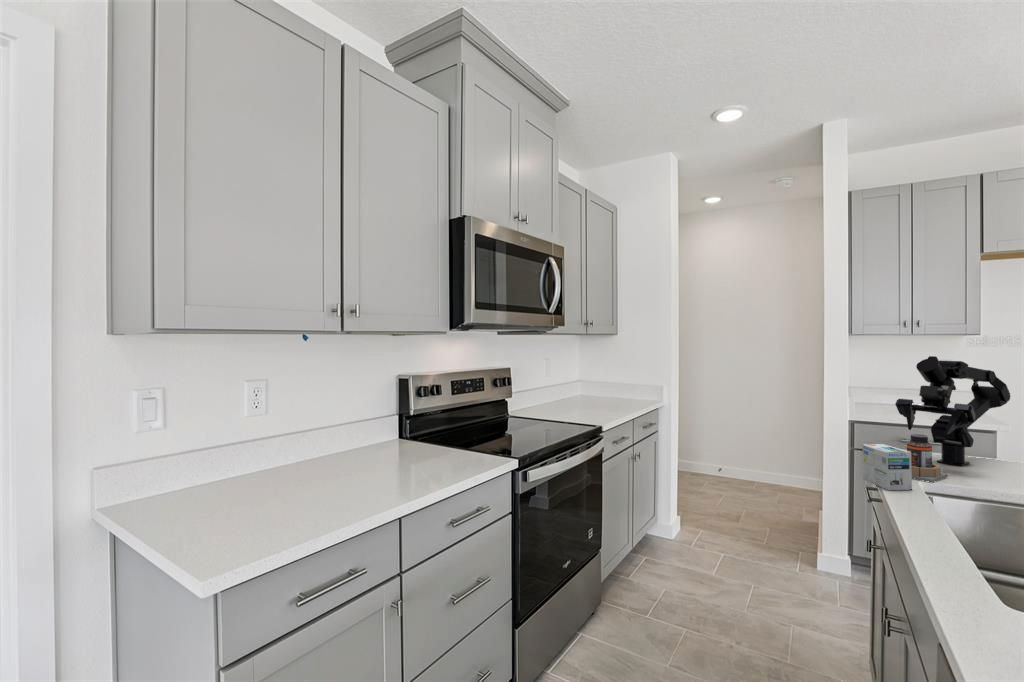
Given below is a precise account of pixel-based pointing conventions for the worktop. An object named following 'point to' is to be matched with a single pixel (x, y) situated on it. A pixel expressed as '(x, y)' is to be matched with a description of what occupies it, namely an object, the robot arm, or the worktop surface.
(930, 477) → the bottle socket
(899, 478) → the light bulb box
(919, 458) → the supplement bottle
